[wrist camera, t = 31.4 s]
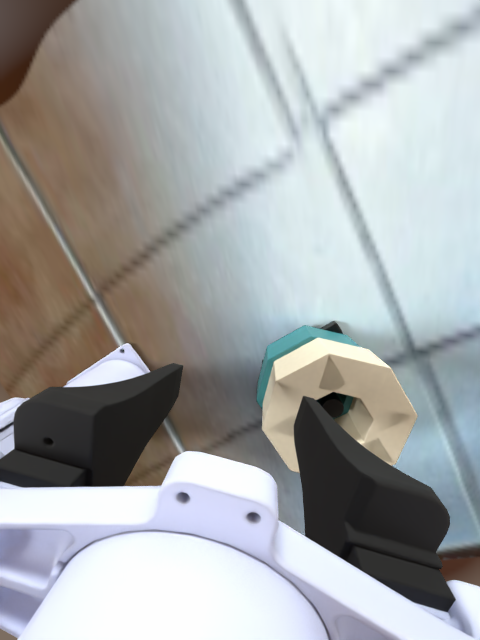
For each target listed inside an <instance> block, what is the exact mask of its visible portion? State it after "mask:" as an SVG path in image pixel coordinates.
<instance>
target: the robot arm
mask: <svg viewBox="0 0 480 640" xmlns="http://www.w3.org/2000/svg"><path fill="white" fill-rule="evenodd" d="M122 349H124V351H125V352H123V351H122ZM182 370H183V366H182V365H178V364H174V363H173V364H169V365H167V366H164V367H162V368H159V369H157V370H154V371H152V372H150V370H149V369H148V368H147V366H146V365H145V364H144V362H143V361H142V360H141V358H140V357H139V356H138V354H137V353H136V352H135V350H134V349H133V347H132V346H131V345H130V344H128V343H126V344H124V345H122V346H121V347H119V348H118V349H116V350H115V351H113V352H112V353H110V354H109V355H107V356H106V357H104V358H103V359H101V360H100V361H98V362H97V363H95V364H94V365H92V366H91V367H89V368H88V369H86V370H85V371H83V372H82V373H80V374H79V375H77V376H76V377H74V378H73V379H71V380H70V381H68V382H67V385H66V386H64V387H49V388H48V389H46V390H44V391H42V392H41V393H39V394H37V395H35V396H34V397H32V398H26V399H24V398H17V397H15V398H12V399H9V400H7V401H4V402H2V403H0V628H1V629H3V630H4V631H6V632H8V633H10V634H11V635H13V636H15V637H17V638H18V640H480V587H479V586H476V585H472V584H469V583H465V582H462V581H458V580H451V581H447V582H446V581H445V579H444V577H443V576H442V574H441V572H440V570H439V569H441V568H442V562H441V561H440V559H439V557H438V555H437V554H436V551H437V549H438V547H439V545H440V544H441V542H442V540H443V539H444V537H445V535H446V534H447V531H448V528H449V526H450V516H449V514H448V511H447V509H446V508H445V506H444V505H443V504H442V502H441V501H440V499H439V498H438V497H437V495H436V494H435V492H434V491H433V490H432V488H431V487H429V486H427V485H425V484H423V483H421V482H419V481H417V480H416V479H414V478H412V477H410V476H408V475H406V474H404V473H403V472H401V471H399V470H398V469H396V468H394V467H393V466H391V465H389V464H388V463H386V462H385V461H383V460H382V459H380V458H379V457H377V456H376V455H375V454H373V453H372V452H370V451H369V450H368V449H366V448H365V447H364V446H362V445H361V444H360V443H359V442H357V441H356V440H355V439H354V438H353V437H351V436H350V435H349V434H348V433H347V432H346V431H345V430H344V429H343V428H342V427H341V426H340V425H339V424H338V423H337V422H336V421H335V420H334V419H333V418H332V417H331V416H330V415H329V414H328V413H327V412H326V411H325V410H324V408H323V407H322V406H321V405H320V404H319V403H318V402H317V401H316V400H315V399H314V398H310V397H306V396H303V397H302V400H301V404H300V407H299V410H298V413H297V416H296V419H295V423H294V444H295V449H296V455H297V461H298V466H299V472H300V477H301V483H302V491H303V504H304V519H305V536H304V535H302V534H300V533H299V532H297V531H296V530H294V529H292V528H291V527H289V526H287V525H286V524H284V523H282V522H281V521H279V519H278V494H277V483H276V482H275V481H274V479H273V478H272V476H271V475H270V474H269V473H267V472H265V471H263V470H261V469H260V468H258V467H254V466H250V465H247V464H243V463H239V462H236V461H232V460H228V459H225V458H221V457H217V456H214V455H210V454H206V453H202V452H193V451H186V452H184V453H182V454H180V455H178V456H176V457H175V459H174V461H173V463H172V465H171V467H170V469H169V471H168V473H167V475H166V477H165V479H164V481H163V483H162V486H124V484H125V482H126V480H127V479H128V477H129V475H130V473H131V471H132V469H133V468H134V466H135V464H136V462H137V460H138V459H139V457H140V455H141V453H142V451H143V450H144V448H145V446H146V445H147V443H148V442H149V440H150V439H151V437H152V436H153V434H154V433H155V432H156V430H157V429H158V427H159V426H160V425H161V423H162V422H163V420H164V419H165V418H166V416H167V415H168V413H169V412H170V410H171V409H172V407H173V405H174V403H175V401H176V399H177V397H178V394H179V388H180V382H181V376H182Z"/></svg>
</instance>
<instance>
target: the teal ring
mask: <svg viewBox="0 0 480 640" xmlns="http://www.w3.org/2000/svg"><path fill="white" fill-rule="evenodd" d="M316 338H322V339H327V340H331V341H335V342H339V343H344V344H348V345H352V346H357V347H360V346H359V345H358V344H356V343H355V342H354V341H353V340H352V339H351V338H350V337H348V336H347V335H344V334H340V333H335V332H331V331H327V330H323V329H318V328H314V327H310V326H306V325H304V326H302V327H300V328H299V329H297V330H295V331H293V332H292V333H290V334H288V335H286V336H284V337H283V338H281V339H279V340H277V341H275V342H274V343H272V344H270V345H268V346H267V349H266V353H265V357H264V361H263V364H262V368H261V372H260V376H259V380H258V387H257V402H258V404H259V405H260V407H261V408H262V410H263V400H264V396H265V393H266V389H267V385H268V382H269V378H270V374H271V371H272V367H273V363H274V361H276V360H277V359H279V358H281V357H283V356H285V355H287V354H289V353H290V352H292V351H294V350H296V349H298V348H300V347H301V346H303V345H305V344H307V343H309V342H311V341H312V340H314V339H316ZM337 394H338V396H339V398H340V400H341V402H342V403H343V406H344V411H343V413H342V414H341V415H340V416H342V415H344V414H346V413H348V412H349V409H350V406H351V404H352V401H353V398H354V397H352V396H348V395H344V394H340V393H337ZM316 401H317V402H318V403H319V400H318V399H317V400H316ZM319 404H320V403H319ZM340 416H338V417H340ZM338 417H335V418H338ZM335 418H333V419H335Z"/></svg>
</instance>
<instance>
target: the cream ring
mask: <svg viewBox="0 0 480 640" xmlns="http://www.w3.org/2000/svg"><path fill="white" fill-rule="evenodd" d="M332 392H336V393H340V394H344V395H348V396H352V397H354V398H353V401H352V404H351V406H350V409H349V412H348V413H346V414H344V415H342V416H340V417H338V418H335V419H334V420H335V421H336V422H337V423H338V424H339V425H340V426H341V427H342V428H343V429H344V430H345V431H346V432H347V433H348V434H349V435H350V436H351V437H353V438H354V439H355V440H356V441H357V442H359V443H360V444H361V445H362V446H364V447H365V448H366V449H368V450H369V451H370V452H372V453H373V454H375V455H376V456H377V457H379V458H380V459H382V460H383V461H385V462H386V463H388V464H389V465H391V466H392V465H394V464H396V462H397V460H398V458H399V456H400V453H401V451H402V449H403V447H404V445H405V443H406V441H407V438H408V436H409V434H410V432H411V430H412V428H413V426H414V424H415V421H416V419H417V417H418V416H417V413H416V412H415V410H414V408H413V406H412V404H411V403H410V401H409V399H408V397H407V396H406V394H405V392H404V390H403V388H402V387H401V385H400V383H399V381H398V380H397V378H396V376H395V374H394V373H393V371H392V369H391V368H390V367H389V366H388V365H387V364H385V363H384V362H383V361H382V360H381V359H379V358H378V357H377V356H376V355H375V354H373V353H372V352H371V351H370V350H369V349H365V348H361V347H357V346H352V345H348V344H344V343H339V342H335V341H331V340H327V339H322V338H316V339H314V340H312V341H311V342H309V343H307V344H305V345H303V346H301V347H300V348H298V349H296V350H294V351H292V352H290V353H289V354H287V355H285V356H283V357H281V358H279V359H277V360H276V361H274V363H273V367H272V371H271V374H270V378H269V382H268V385H267V389H266V393H265V396H264V400H263V417H262V430H263V431H264V433H265V434H266V436H267V437H268V439H269V440H270V442H271V443H272V444H273V446H274V447H275V449H276V450H277V452H278V453H279V455H280V456H281V458H282V459H283V460H284V462H285V463H286V465H287V466H288V468H289V469H290V470H291V471H295V472H298V473H300V472H299V466H298V461H297V455H296V449H295V444H294V423H295V419H296V416H297V413H298V410H299V407H300V404H301V400H302V397H303V396H306V397H310V398H314V399H315V400H317V399H319V398H322V397H324V396H326V395H328V394H330V393H332Z"/></svg>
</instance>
